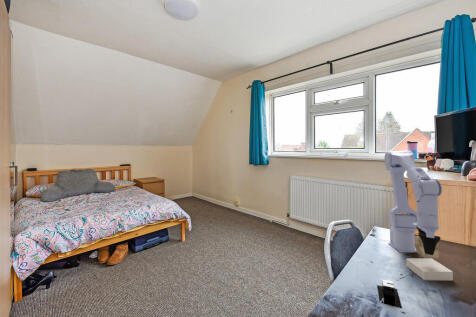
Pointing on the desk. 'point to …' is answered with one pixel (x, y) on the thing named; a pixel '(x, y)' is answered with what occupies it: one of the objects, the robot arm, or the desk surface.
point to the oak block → (421, 249)
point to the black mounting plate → (388, 294)
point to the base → (429, 269)
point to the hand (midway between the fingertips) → (427, 250)
